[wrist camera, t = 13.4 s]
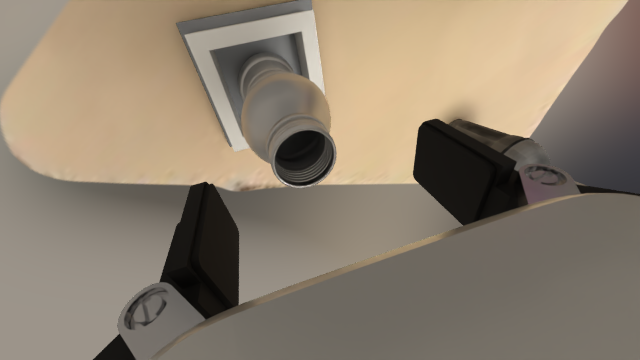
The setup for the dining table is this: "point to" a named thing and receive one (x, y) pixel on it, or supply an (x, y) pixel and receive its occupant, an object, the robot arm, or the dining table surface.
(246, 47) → the socket
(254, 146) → the plastic bottle
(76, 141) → the dining table surface
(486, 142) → the beverage cup
